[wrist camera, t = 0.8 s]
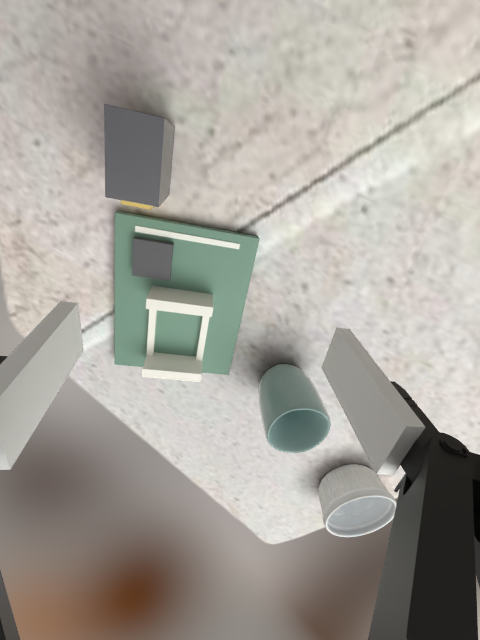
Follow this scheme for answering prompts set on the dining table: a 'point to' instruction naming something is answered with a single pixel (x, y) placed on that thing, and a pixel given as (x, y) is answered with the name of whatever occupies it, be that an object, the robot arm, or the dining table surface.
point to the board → (178, 295)
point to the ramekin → (355, 501)
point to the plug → (137, 157)
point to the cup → (292, 410)
